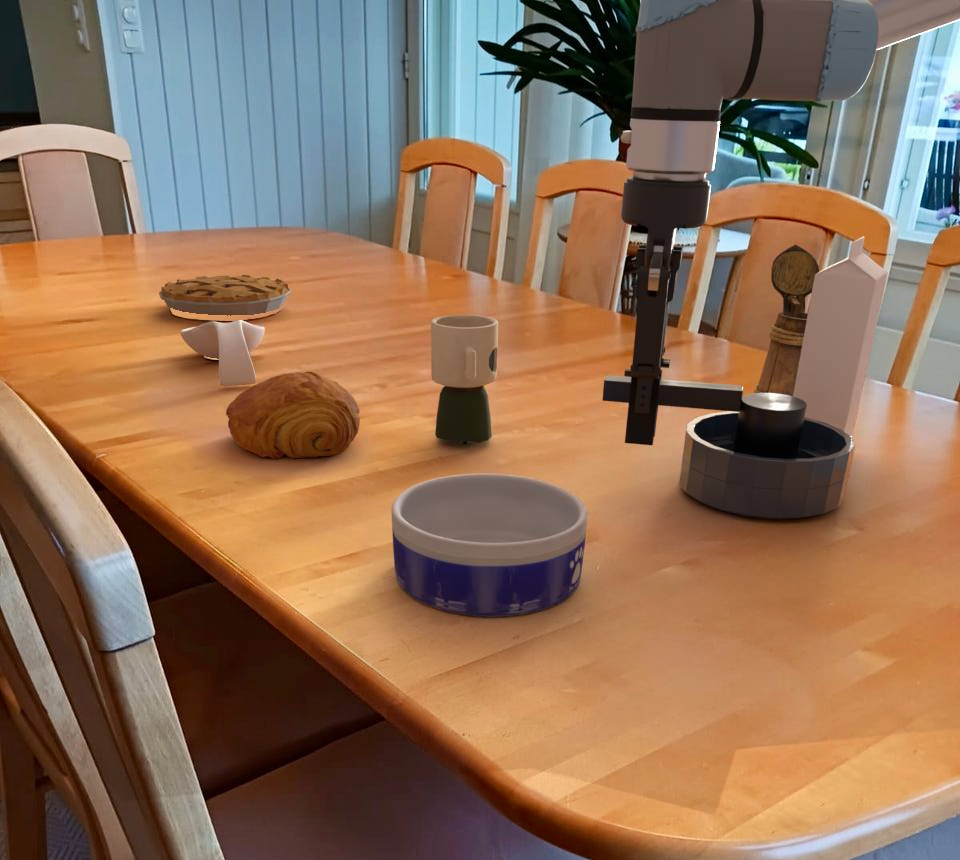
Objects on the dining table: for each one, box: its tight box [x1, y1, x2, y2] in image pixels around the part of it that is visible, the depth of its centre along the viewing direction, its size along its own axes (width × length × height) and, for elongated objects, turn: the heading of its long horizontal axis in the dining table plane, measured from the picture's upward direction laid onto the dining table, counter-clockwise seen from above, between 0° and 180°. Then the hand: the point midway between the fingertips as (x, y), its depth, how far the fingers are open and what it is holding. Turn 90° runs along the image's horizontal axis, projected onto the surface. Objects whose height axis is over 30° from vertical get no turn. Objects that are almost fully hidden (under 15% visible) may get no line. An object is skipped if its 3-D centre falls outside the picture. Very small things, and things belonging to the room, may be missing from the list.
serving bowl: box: [678, 411, 856, 520], centre depth 94 cm, size 16×16×6 cm
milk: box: [793, 236, 889, 438], centre depth 102 cm, size 6×6×22 cm
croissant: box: [225, 371, 361, 460], centre depth 106 cm, size 14×16×8 cm
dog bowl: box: [391, 473, 588, 618], centre depth 77 cm, size 15×15×6 cm
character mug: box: [430, 314, 499, 446], centre depth 105 cm, size 11×7×13 cm, turn 9°
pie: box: [158, 274, 292, 316], centre depth 167 cm, size 22×22×5 cm
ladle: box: [602, 374, 807, 459], centre depth 94 cm, size 19×6×6 cm, turn 77°
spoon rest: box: [179, 320, 266, 387], centre depth 134 cm, size 24×12×7 cm, turn 19°
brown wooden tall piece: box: [753, 244, 820, 396], centre depth 121 cm, size 9×14×18 cm, turn 178°
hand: (640, 438), depth 96 cm, fingers closed on ladle, 2 cm apart
